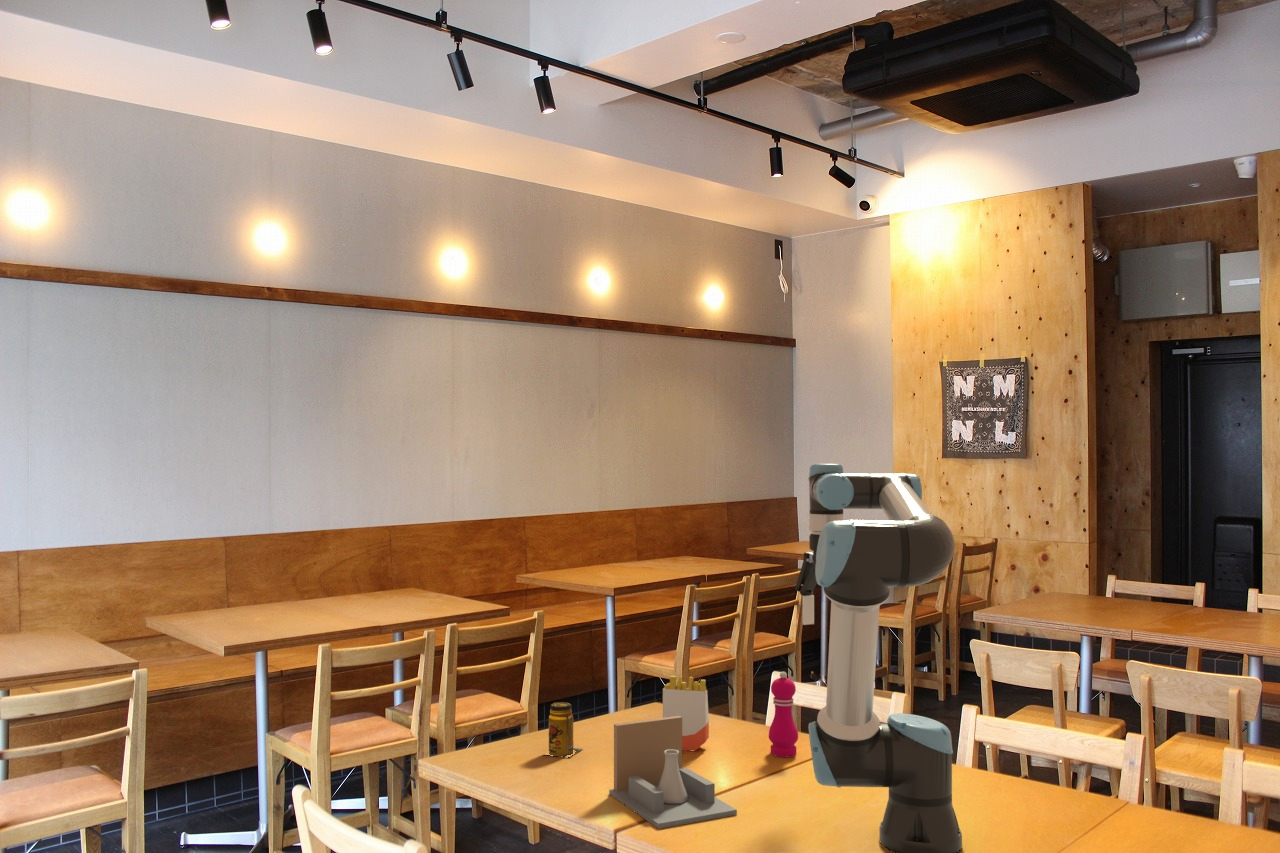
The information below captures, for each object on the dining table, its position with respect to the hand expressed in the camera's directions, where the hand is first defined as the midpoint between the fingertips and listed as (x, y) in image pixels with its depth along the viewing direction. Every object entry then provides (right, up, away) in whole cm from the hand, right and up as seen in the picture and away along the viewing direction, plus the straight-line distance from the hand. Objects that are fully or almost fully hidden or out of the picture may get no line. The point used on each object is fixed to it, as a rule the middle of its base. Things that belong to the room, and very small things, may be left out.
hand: (826, 628), depth 231 cm
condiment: (-60, -36, +25) cm, 74 cm away
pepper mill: (-6, -35, +24) cm, 43 cm away
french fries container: (-30, -36, +29) cm, 55 cm away
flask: (-35, -34, -13) cm, 50 cm away
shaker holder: (-35, -34, -13) cm, 51 cm away
